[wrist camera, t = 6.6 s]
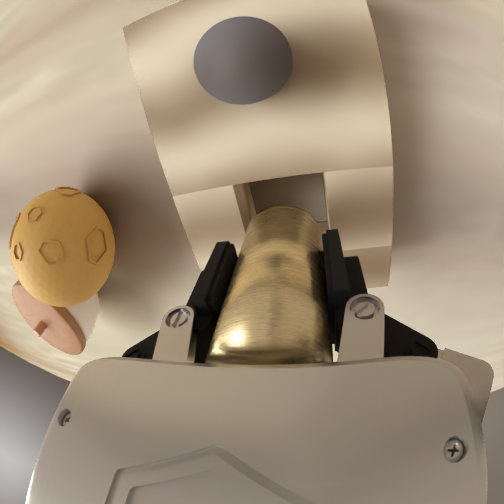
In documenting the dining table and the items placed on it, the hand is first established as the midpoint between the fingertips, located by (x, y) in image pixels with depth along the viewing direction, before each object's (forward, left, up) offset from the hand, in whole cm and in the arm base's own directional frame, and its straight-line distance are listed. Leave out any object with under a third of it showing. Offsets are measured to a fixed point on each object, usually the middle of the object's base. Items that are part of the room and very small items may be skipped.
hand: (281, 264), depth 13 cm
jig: (-4, 0, -8) cm, 9 cm away
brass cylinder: (0, 0, -2) cm, 2 cm away
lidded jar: (+6, -26, -9) cm, 28 cm away
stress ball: (-1, -18, -9) cm, 20 cm away
